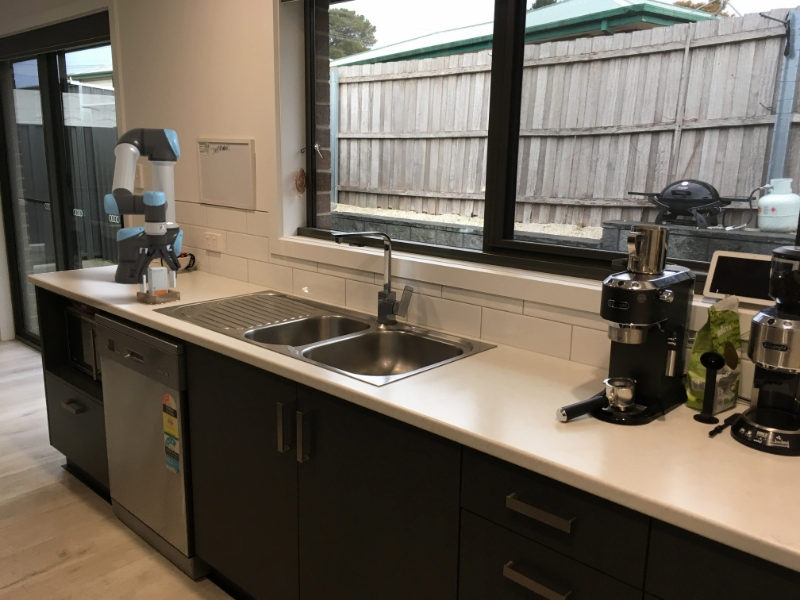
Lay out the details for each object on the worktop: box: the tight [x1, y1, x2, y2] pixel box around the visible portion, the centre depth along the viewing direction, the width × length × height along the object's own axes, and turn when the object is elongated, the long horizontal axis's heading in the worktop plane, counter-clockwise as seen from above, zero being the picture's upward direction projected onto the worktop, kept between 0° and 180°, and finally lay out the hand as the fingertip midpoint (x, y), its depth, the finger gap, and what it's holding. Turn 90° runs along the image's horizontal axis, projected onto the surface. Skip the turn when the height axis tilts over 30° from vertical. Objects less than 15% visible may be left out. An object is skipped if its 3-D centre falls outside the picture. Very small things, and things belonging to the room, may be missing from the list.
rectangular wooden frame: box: [136, 289, 181, 305], centre depth 243 cm, size 11×11×3 cm
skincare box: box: [147, 266, 169, 295], centre depth 242 cm, size 6×4×12 cm
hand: (158, 289), depth 242 cm, fingers open, 13 cm apart
